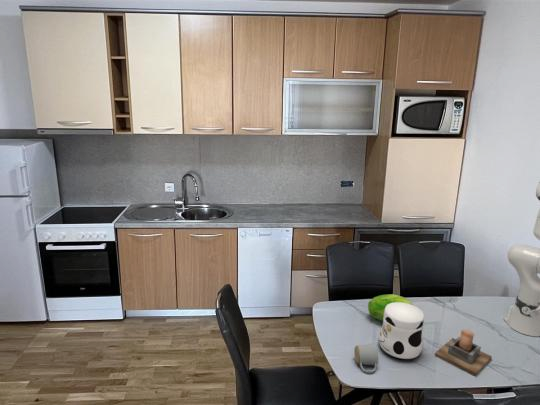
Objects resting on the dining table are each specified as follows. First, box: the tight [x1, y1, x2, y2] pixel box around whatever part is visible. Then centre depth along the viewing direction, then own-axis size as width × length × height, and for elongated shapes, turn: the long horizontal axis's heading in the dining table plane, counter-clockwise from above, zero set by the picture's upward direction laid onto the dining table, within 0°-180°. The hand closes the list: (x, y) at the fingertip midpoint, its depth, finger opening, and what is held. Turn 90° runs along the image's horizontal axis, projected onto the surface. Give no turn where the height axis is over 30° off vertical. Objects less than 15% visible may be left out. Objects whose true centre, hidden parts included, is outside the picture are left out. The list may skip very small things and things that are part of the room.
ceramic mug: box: [353, 343, 379, 374], centre depth 152 cm, size 11×8×8 cm
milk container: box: [378, 302, 425, 360], centre depth 161 cm, size 17×17×18 cm
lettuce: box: [367, 293, 413, 322], centre depth 185 cm, size 13×23×12 cm, turn 103°
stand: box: [434, 336, 492, 377], centre depth 159 cm, size 16×16×6 cm
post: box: [459, 329, 475, 353], centre depth 158 cm, size 4×4×10 cm
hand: (534, 309), depth 144 cm, fingers open, 8 cm apart
